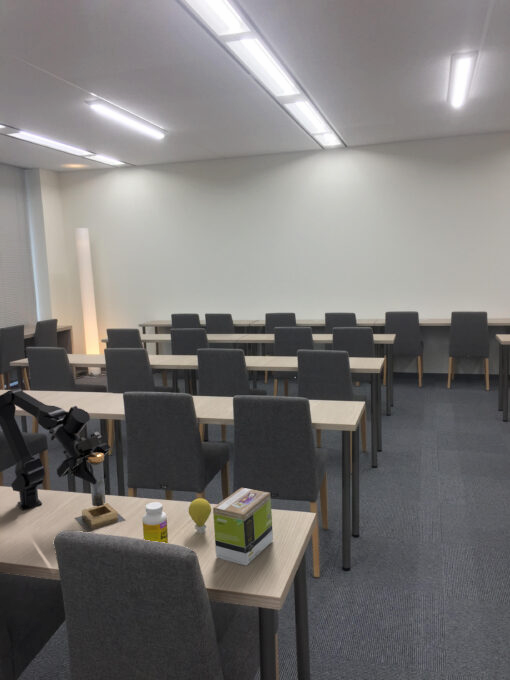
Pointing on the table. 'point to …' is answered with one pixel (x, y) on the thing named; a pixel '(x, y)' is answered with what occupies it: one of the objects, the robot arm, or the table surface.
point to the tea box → (243, 525)
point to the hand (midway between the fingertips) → (100, 480)
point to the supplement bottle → (155, 523)
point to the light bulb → (200, 513)
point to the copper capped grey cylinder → (97, 478)
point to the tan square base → (99, 517)
